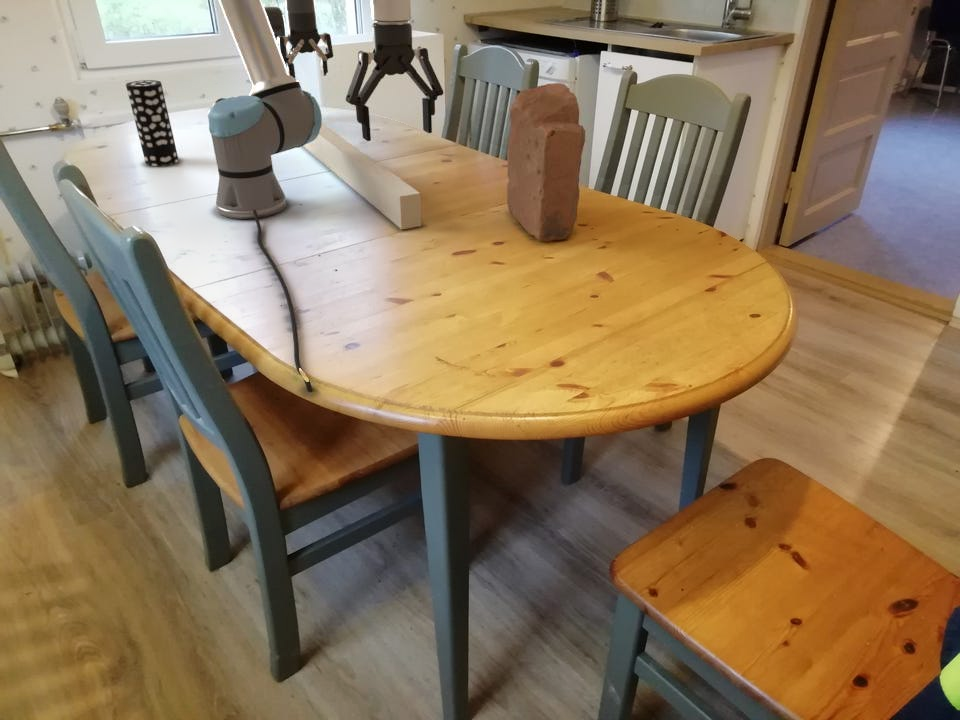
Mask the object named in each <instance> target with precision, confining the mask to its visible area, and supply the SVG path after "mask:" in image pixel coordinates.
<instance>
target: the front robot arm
mask: <svg viewBox="0 0 960 720" xmlns="http://www.w3.org/2000/svg"><path fill="white" fill-rule="evenodd" d="M218 2H219V4H220V7H221V9H222V12H223V14H224V17H225V20H226V22H227V24H228V27H229V30H230V32H231V35H232V37H233V40H234V42H235V45H236V47H237V50H238V52H239V55H240V58H241V60H242V62H243V65H244V68H245V70H246V73H247V75H248V78H249V80H250V83H251V85H252V89H251V90H250V93H249V95H239V96H231V97H227V98H226V99H224V100H221V101H219V102H217V103H215V102H214V103H213V104H212V105H211V106H210V108H209V109H208V112H207V117H208V131H209V133H210V135H211V141H212V147H213V151H214V156H215V161H216V167H217V169H218V170H217V172H218V185H217V193H216V201H215V206H216V210H217V213H218V214H219V215H221V216H223V217H225V218H229V219H236V220H253V219H254V221H255V223H256V227H257V237H256V240H257V244H258V246H259V248H260V250H261V251H262V253H263V254H264V256H265V257H266V259H267V261H268V263H269V264H270V266H271V267H272V269H273V271H274V273H275V275H276V276H277V279H278V281H279V282H280V286H281V288H282V290H283V293H284V296H285V299H286V302H287V305H288V310H289V316H290V321H291V330H292V339H293V358H294V364H295V368H296V370H297V372H298V374H299V376H301V374H300V372H299V368H301V369H302V370H303V371H304V369H303V367H302V365H301V360H300V344H299V343H300V342H299V338H298V337H299V335H298V327H297V326H298V325H297V320H296V315H295V310H294V306H293V302H292V299H291V296H290V292H289V290H288V287H287V285H286V283H285V281H284V278H283V275H282V274H281V272H280V271H279V268H278V267H277V265H276V263H275V261H274V260H273V259H272V257H271V255H270V254H269V252H268V251H267V249H266V248H265V246H264V244H263V243H262V225H261V223H260V218H261V219H262V218H265V217H266V218H267V217H270V216H274V215H276V214H278V213H280V212H282V211H283V210H285V209H286V207H287V199H286V194H285V193H284V191H283V189H282V187H281V184H280V182H279V180H278V179H277V177H276V175H275V172H274V167H273V160H272V156H274V155H277V154H280V153H283V152H286V151H291V150H293V149H297V148H301V147H304V145H305V144H308V143H310V142H312V141H313V140H315V139H316V137H317V136H318V134H319V132H320V128H321V124H322V123H323V118H322V111H321V107H320V104H319V102H318V100H317V98H316V97H315V96H313V95H312V93H310V92H309V91H306V90H303V89H302V86H301V84H300V81H299V80H298V79H296V77H295V78H293V77H291V76H290V75H289V73H288V70H287V68H286V65H285V62H284V60H283V57H282V54H281V52H280V49H279V46H278V44H277V41H276V38H275V36H274V33H273V30H272V28H271V25H270V22H269V20H268V17H267V14H266V12H265V9H264V7H265V6H264V4H263V1H262V0H218ZM370 12H371V19H372V21H374V23H372V25H371V27H372V29H371V30H372V42H373V51H372V52H368V51H367V52H366V51H363V50H359V51H358V52H357V64H356V68H355V70H354V73H353V76H352V79H351V82H350V85H349V87H348V90H347V93H346V96H345V102H347V103H348V104H350V105H351V106H354V107H355V114H356V122H357V123H359V124H360V125H361V133H362V139H364V140H365V141H366V142H371V141H372V137H371V136H372V135H371V121H370V110H369V109H370V108H369V106H367V105H366V104H367V103H368V101H369V99H370V98H371V97H372V95H373V93H374V92H375V90H376V88H377V87H378V86H379V84H380V82H381V80H382V79H384V77H385V76H386V75H387V76H395V75H404V74H407V75H408V77H409V78H410V79H411V80H412V81H413V82H414V84H415V85H416V86H417V87H418V89H419V90H420V92H422V93H423V94H424V96H425V97H422V99H421V103H422V129H423V130H422V131H424V132H426V133H427V134H432V133H433V122H432V121H433V119H432V118H433V117H432V116H435V115H436V101H437V99H438V97H440V96H443V95H444V89H443V87H442V85H441V83H440V81H439V79H438V76H437V74H436V73H435V70H434V68H433V66H432V63H431V61H430V58H429V50H428V49H427V48H426V47H423V46H418V47H417V48H413V29H412V28H413V25H412V23H411V22H409V21H411V20H412V1H411V0H370ZM414 58H415V59H416V60H418V62H419V65H420V66H421V69H422V70H423V73H424V75H425V77H426V79H427V82H428V83H429V85H430V86H429V85H428V84H427V83H426V81H425V80H424V79H423V78H422V76H421V75H420V74H419V73H418V71H417V70H416V68H415V67H414V66H413V64H412V62H413V60H414ZM372 60H373V61H374V63H375V66H374V68H373V69H372V70H371V74H370V75H369V77H368V79H367V80H366V82H365V83H364V80H365V78H366V74H367V72H368V68H369V65H370V64H371V63H372ZM363 84H364V85H363ZM362 85H363V86H362ZM303 382H304V384H305V388H306V390H307V393H312V392H314V391H313V386H312V383H311V380H310V379H309V382H306V381H305V380H304V379H303Z"/></svg>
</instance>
